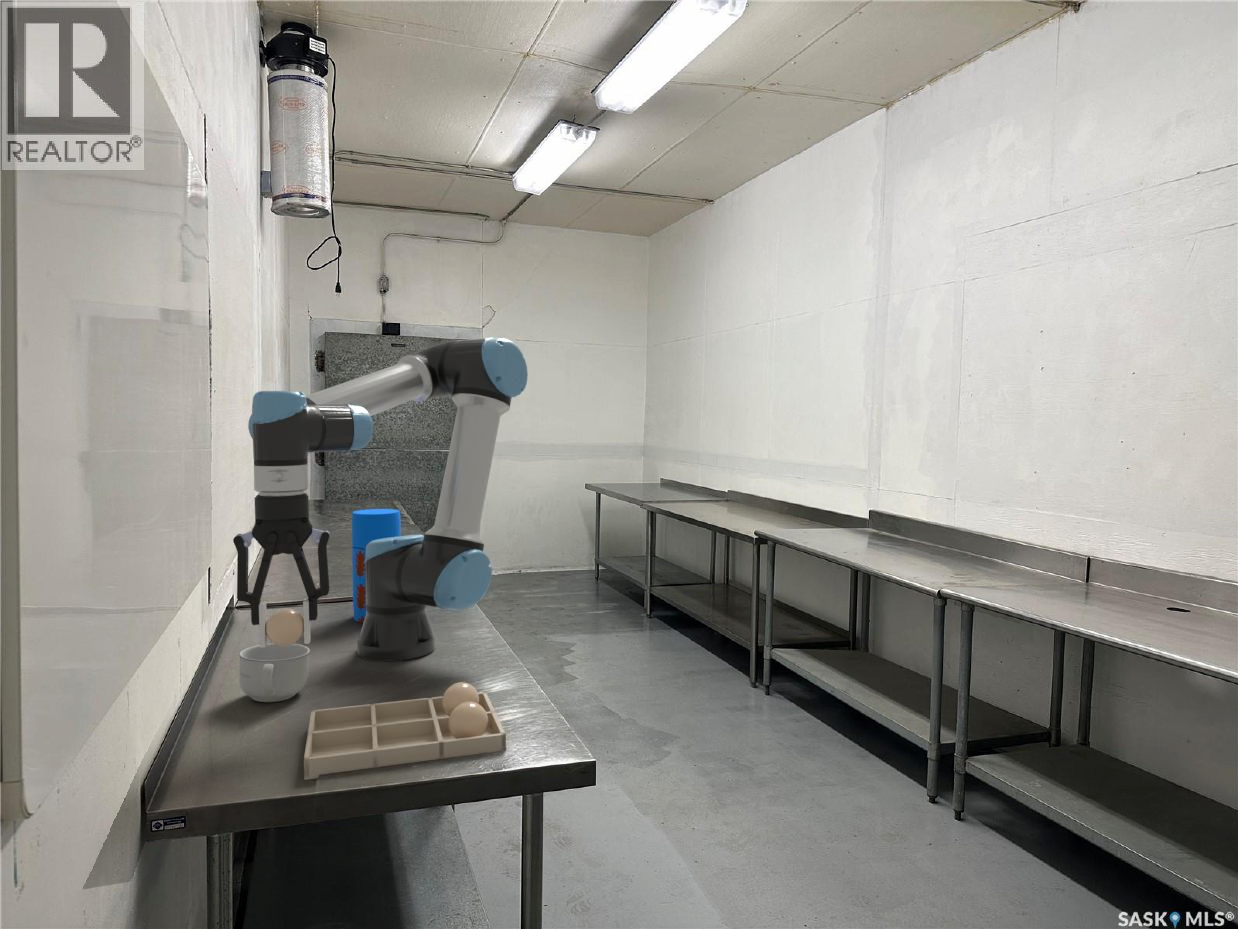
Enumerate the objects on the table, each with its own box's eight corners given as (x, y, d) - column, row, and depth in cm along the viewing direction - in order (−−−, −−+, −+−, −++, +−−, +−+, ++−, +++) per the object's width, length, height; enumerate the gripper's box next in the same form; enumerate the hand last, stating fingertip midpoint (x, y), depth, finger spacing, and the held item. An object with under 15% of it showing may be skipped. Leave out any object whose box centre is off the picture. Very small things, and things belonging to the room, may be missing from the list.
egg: (267, 641, 121) (266, 606, 120) (306, 638, 123) (305, 603, 122) (263, 651, 115) (262, 614, 115) (304, 648, 117) (303, 612, 117)
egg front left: (446, 735, 114) (446, 698, 113) (484, 731, 116) (484, 694, 115) (451, 751, 109) (450, 712, 108) (491, 746, 110) (490, 707, 110)
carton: (311, 727, 118) (311, 710, 117) (485, 708, 126) (485, 691, 126) (304, 780, 101) (303, 759, 101) (505, 753, 109) (505, 734, 109)
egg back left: (440, 714, 122) (440, 679, 122) (476, 710, 124) (476, 675, 123) (444, 728, 117) (444, 691, 116) (481, 723, 118) (481, 687, 118)
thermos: (343, 620, 179) (341, 513, 178) (374, 609, 189) (372, 508, 188) (381, 625, 175) (380, 515, 174) (410, 614, 185) (409, 510, 184)
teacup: (254, 686, 136) (253, 641, 135) (318, 684, 137) (317, 640, 136) (220, 716, 122) (219, 666, 121) (292, 715, 123) (291, 665, 122)
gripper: (209, 497, 111) (214, 656, 113) (346, 493, 117) (349, 644, 119) (218, 492, 118) (222, 641, 120) (346, 488, 124) (349, 631, 126)
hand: (285, 642), depth 119 cm, fingers closed on egg, 5 cm apart
